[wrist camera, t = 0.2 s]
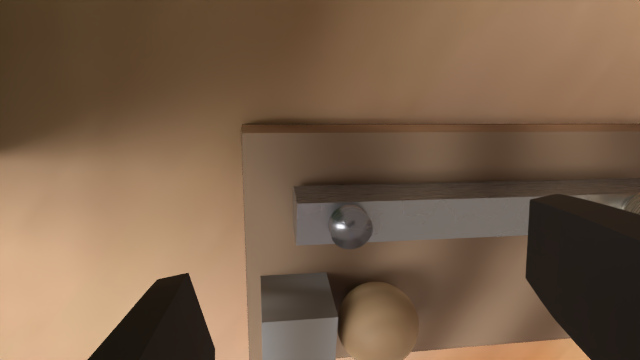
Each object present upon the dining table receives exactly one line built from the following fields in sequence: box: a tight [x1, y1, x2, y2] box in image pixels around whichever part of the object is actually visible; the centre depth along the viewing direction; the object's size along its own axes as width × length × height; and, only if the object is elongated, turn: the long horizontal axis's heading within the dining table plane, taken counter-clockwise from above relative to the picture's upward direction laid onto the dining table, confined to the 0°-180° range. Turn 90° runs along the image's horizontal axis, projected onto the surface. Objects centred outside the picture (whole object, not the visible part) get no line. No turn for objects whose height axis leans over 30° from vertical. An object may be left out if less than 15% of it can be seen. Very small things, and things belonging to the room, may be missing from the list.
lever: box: [293, 178, 640, 249], centre depth 16 cm, size 16×2×6 cm, turn 88°
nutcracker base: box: [241, 124, 640, 360], centre depth 19 cm, size 20×12×4 cm, turn 88°
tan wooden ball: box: [337, 282, 419, 360], centre depth 19 cm, size 4×4×4 cm
